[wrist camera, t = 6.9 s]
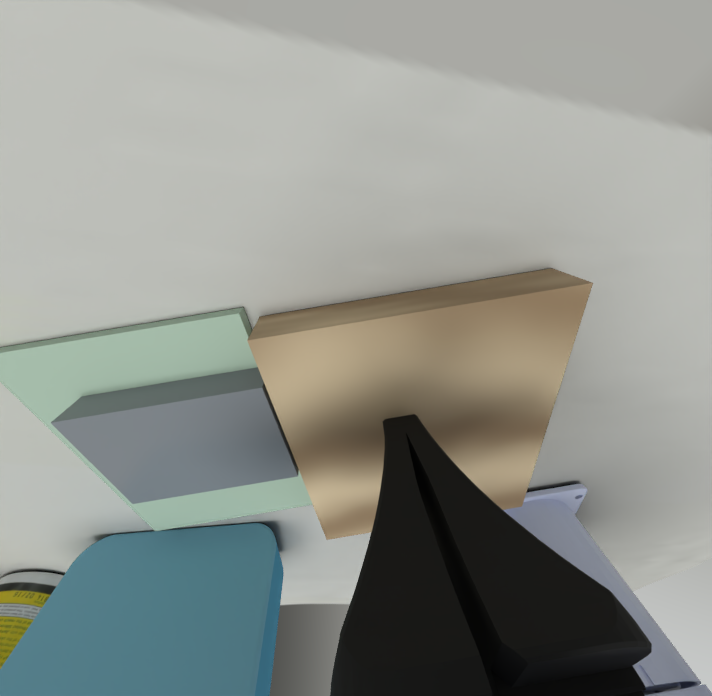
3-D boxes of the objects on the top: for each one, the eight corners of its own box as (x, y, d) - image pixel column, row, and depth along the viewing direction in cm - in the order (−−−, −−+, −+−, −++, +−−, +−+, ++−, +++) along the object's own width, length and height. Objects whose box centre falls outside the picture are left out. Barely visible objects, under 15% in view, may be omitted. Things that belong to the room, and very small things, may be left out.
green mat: (314, 494, 17) (314, 504, 17) (160, 521, 17) (155, 531, 17) (243, 307, 11) (239, 313, 10) (-8, 349, 11) (-26, 357, 10)
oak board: (503, 476, 18) (521, 506, 16) (326, 506, 18) (326, 539, 16) (551, 268, 11) (593, 282, 9) (260, 316, 11) (247, 340, 9)
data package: (119, 566, 20) (-109, 977, 9) (89, 534, 17) (-253, 1030, 7) (286, 551, 21) (246, 907, 10) (279, 519, 19) (218, 934, 8)
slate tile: (300, 450, 14) (297, 476, 13) (150, 475, 14) (132, 504, 13) (269, 365, 11) (261, 387, 10) (81, 396, 11) (50, 422, 10)
